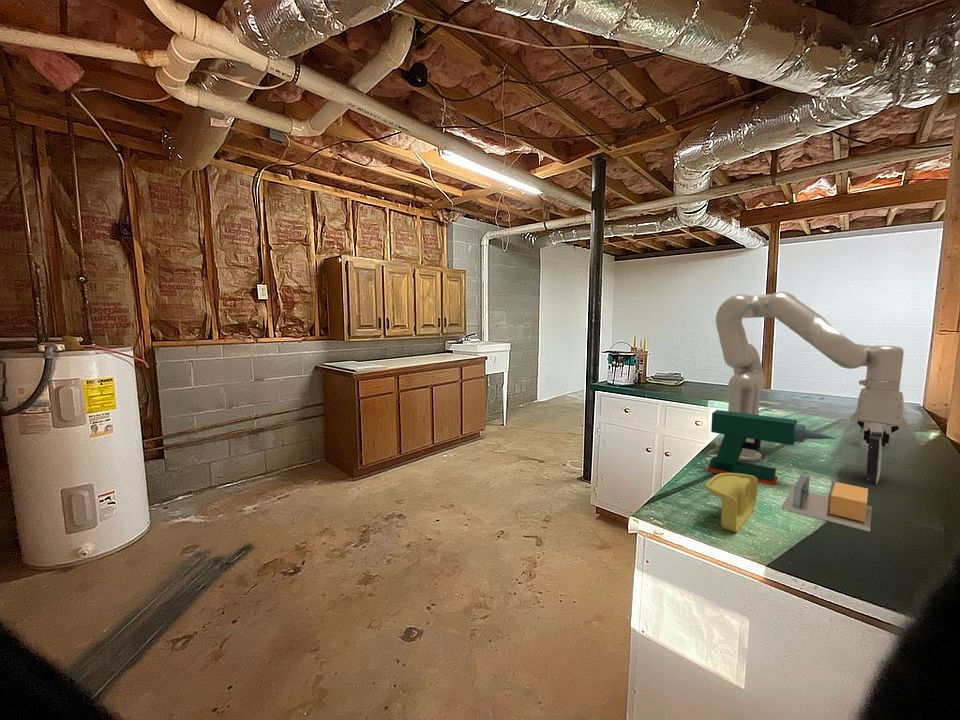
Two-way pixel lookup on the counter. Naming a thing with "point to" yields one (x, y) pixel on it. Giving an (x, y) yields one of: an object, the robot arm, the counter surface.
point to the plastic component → (734, 497)
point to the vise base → (819, 506)
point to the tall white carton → (874, 428)
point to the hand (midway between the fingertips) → (875, 443)
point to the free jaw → (848, 501)
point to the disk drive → (874, 458)
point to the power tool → (757, 429)
